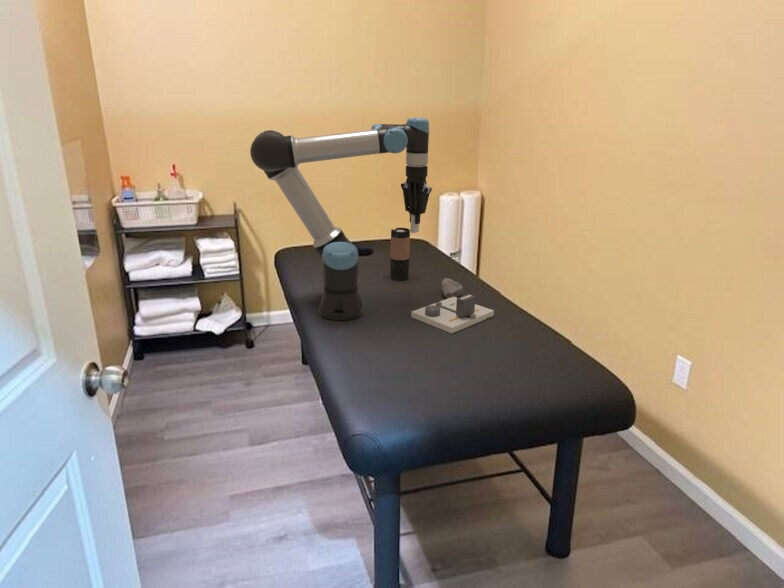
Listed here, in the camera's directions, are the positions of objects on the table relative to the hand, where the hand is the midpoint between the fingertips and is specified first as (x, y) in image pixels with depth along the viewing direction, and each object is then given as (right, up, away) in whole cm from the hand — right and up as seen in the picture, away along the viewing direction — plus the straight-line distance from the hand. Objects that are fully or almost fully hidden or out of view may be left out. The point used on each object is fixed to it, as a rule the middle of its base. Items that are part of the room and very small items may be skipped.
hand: (414, 232), depth 204 cm
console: (+13, -30, -9) cm, 34 cm away
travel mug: (-5, -16, +28) cm, 32 cm away
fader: (+16, -29, -14) cm, 36 cm away
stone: (+14, -23, +10) cm, 29 cm away
